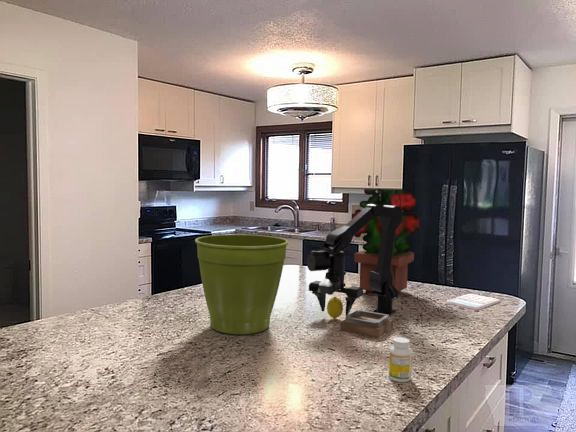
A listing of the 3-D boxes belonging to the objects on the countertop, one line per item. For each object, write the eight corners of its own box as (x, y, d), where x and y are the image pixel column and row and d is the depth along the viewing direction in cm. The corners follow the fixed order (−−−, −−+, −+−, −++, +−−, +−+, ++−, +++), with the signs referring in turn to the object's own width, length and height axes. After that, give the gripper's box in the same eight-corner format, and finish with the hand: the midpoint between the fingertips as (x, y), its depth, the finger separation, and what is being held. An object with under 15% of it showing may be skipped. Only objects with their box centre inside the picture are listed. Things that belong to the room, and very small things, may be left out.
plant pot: (176, 334, 149) (176, 241, 146) (221, 310, 176) (222, 232, 174) (265, 347, 138) (266, 248, 136) (298, 320, 166) (300, 237, 164)
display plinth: (356, 321, 166) (357, 308, 166) (393, 328, 159) (393, 314, 159) (340, 331, 155) (340, 317, 155) (378, 338, 148) (378, 324, 148)
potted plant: (416, 291, 213) (420, 189, 210) (399, 301, 195) (403, 190, 192) (369, 285, 225) (372, 188, 222) (349, 293, 207) (352, 188, 203)
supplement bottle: (404, 384, 115) (406, 345, 114) (384, 378, 118) (386, 340, 118) (414, 377, 119) (416, 339, 118) (395, 371, 122) (396, 334, 122)
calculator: (500, 303, 198) (500, 298, 198) (477, 311, 184) (477, 306, 184) (469, 297, 208) (469, 292, 208) (445, 304, 194) (445, 299, 194)
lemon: (341, 322, 165) (342, 299, 164) (325, 320, 166) (326, 298, 165) (343, 317, 170) (343, 295, 170) (327, 316, 171) (328, 294, 171)
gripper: (301, 269, 165) (300, 314, 166) (350, 276, 155) (349, 323, 156) (316, 265, 174) (315, 307, 176) (364, 271, 165) (363, 316, 166)
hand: (334, 313), depth 168 cm, fingers open, 9 cm apart
